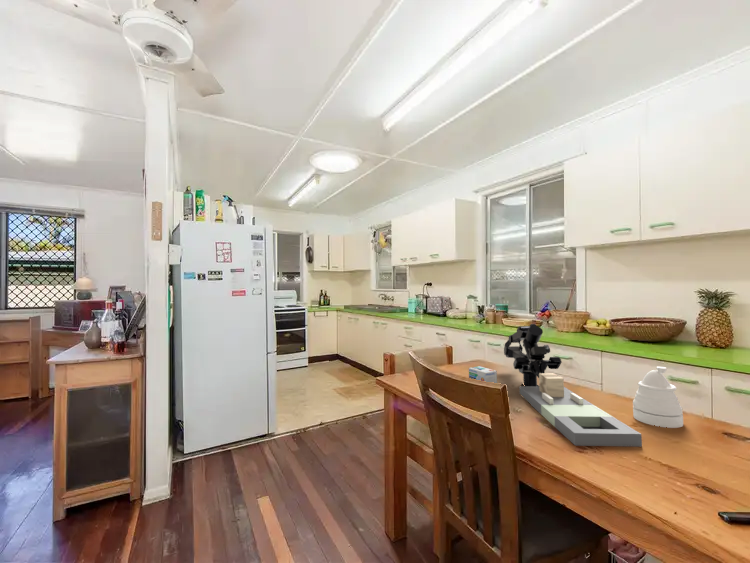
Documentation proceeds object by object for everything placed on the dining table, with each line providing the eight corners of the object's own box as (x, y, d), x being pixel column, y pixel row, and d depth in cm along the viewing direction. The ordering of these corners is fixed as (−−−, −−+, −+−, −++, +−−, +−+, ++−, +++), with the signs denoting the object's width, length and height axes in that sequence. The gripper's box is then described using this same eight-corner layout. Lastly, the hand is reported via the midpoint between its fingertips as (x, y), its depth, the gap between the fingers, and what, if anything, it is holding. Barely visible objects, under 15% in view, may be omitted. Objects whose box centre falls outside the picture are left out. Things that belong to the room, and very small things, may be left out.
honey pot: (692, 423, 109) (689, 368, 110) (668, 430, 104) (665, 372, 105) (647, 411, 121) (645, 360, 121) (624, 416, 116) (622, 364, 117)
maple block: (539, 390, 136) (538, 373, 137) (555, 390, 136) (554, 373, 136) (547, 396, 128) (547, 378, 129) (564, 396, 128) (563, 378, 128)
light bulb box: (468, 391, 149) (467, 367, 149) (480, 389, 151) (479, 365, 152) (486, 398, 139) (485, 372, 139) (498, 396, 142) (497, 370, 142)
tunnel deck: (519, 394, 143) (519, 381, 143) (563, 394, 141) (563, 381, 141) (575, 445, 96) (574, 426, 96) (642, 446, 94) (641, 426, 94)
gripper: (514, 338, 147) (524, 370, 135) (558, 338, 145) (572, 369, 134) (509, 353, 154) (518, 384, 143) (551, 353, 153) (564, 384, 141)
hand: (543, 380), depth 140 cm, fingers closed
